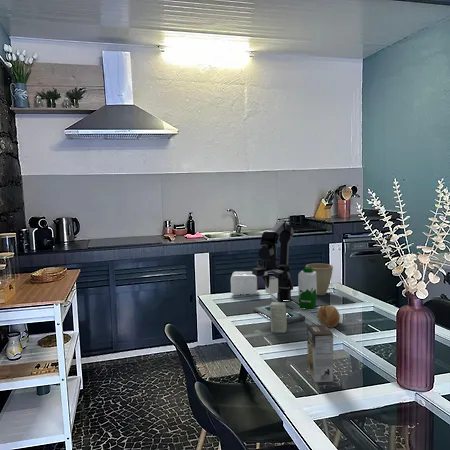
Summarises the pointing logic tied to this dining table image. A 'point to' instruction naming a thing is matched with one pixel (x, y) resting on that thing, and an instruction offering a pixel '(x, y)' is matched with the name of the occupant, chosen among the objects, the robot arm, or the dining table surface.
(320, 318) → the bread roll
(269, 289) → the plug
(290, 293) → the robot arm
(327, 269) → the plant pot
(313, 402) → the dining table surface
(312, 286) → the milk carton
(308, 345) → the coffee box
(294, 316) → the socket panel
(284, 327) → the skincare box
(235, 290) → the white rounded box
